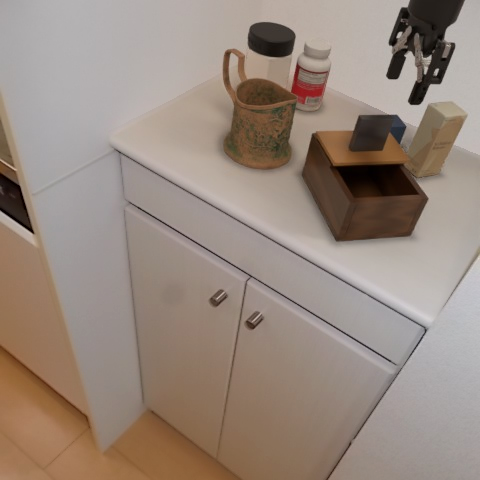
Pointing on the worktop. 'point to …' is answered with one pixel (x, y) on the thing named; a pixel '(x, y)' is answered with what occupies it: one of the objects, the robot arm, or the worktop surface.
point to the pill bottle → (311, 74)
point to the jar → (269, 52)
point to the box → (435, 138)
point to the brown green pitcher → (258, 119)
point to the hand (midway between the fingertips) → (402, 90)
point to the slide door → (364, 143)
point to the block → (397, 128)
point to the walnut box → (363, 196)
